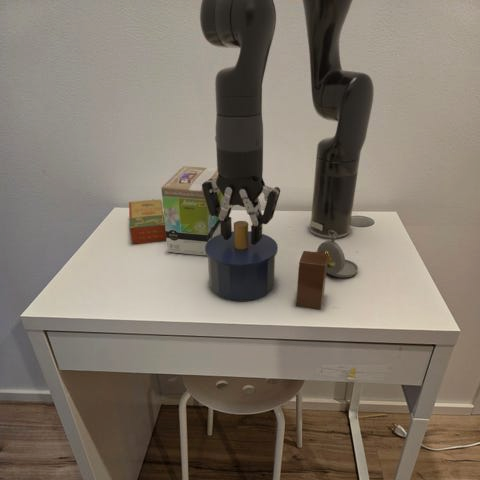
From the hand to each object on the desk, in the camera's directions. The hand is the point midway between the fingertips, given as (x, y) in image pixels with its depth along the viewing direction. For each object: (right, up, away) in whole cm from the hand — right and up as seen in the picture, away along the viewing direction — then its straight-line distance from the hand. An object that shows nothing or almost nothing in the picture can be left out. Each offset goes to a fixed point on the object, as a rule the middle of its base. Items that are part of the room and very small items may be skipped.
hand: (241, 240), depth 80 cm
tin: (0, -8, +6) cm, 9 cm away
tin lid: (0, -1, +1) cm, 2 cm away
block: (+13, -11, 0) cm, 17 cm away
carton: (-23, +8, +27) cm, 36 cm away
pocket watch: (+19, -5, +9) cm, 22 cm away
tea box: (-10, +4, +22) cm, 24 cm away
